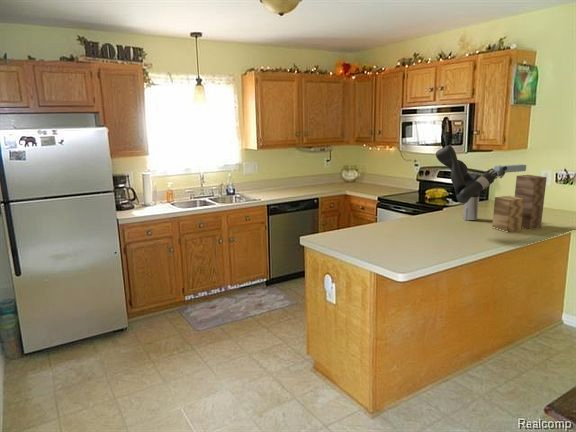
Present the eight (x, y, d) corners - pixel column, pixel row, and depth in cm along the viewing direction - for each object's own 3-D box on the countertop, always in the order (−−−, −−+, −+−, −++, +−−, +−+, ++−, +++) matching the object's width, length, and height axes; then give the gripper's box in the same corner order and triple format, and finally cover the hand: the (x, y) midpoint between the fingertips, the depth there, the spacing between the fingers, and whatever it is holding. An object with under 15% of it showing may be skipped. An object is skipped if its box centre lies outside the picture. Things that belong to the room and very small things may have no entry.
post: (529, 229, 275) (534, 178, 267) (511, 224, 288) (516, 175, 280) (540, 228, 278) (546, 177, 270) (522, 223, 291) (528, 174, 283)
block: (506, 232, 270) (509, 200, 265) (492, 227, 281) (494, 197, 276) (520, 230, 274) (524, 198, 269) (506, 226, 285) (509, 195, 280)
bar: (498, 173, 263) (499, 166, 262) (493, 172, 266) (494, 166, 266) (525, 171, 270) (526, 164, 269) (520, 170, 273) (521, 164, 273)
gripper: (490, 178, 255) (511, 162, 258) (473, 175, 268) (493, 160, 271) (494, 188, 258) (514, 173, 260) (477, 185, 271) (496, 170, 273)
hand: (503, 166), depth 266 cm, fingers closed on bar, 4 cm apart
